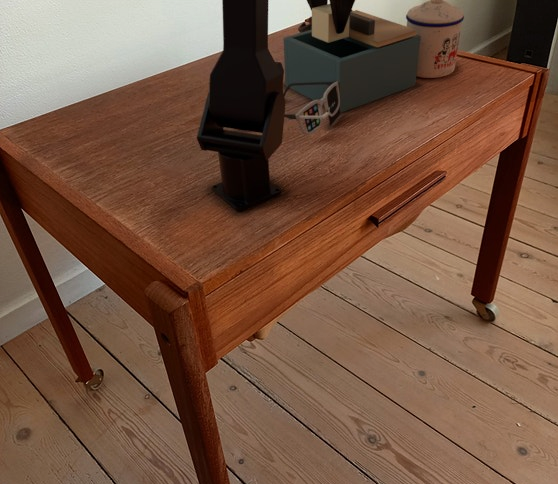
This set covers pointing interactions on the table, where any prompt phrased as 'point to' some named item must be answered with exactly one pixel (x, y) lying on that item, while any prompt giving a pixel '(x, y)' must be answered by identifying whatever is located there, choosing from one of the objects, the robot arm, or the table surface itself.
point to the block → (326, 25)
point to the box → (350, 67)
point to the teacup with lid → (436, 36)
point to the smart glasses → (312, 114)
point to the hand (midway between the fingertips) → (330, 29)
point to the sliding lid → (376, 29)
